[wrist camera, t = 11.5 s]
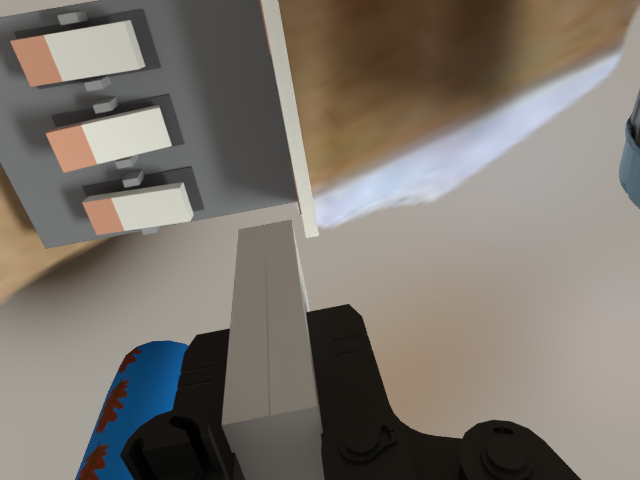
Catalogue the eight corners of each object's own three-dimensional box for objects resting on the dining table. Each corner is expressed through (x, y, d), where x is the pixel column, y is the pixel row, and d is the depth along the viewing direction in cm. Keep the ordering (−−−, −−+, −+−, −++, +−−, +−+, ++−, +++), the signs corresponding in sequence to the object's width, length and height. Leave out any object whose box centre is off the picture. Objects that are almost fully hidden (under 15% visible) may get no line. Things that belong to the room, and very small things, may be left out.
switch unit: (269, -28, 35) (272, -34, 26) (307, 186, 44) (319, 235, 35) (-45, 26, 34) (-148, 38, 26) (58, 233, 43) (7, 294, 34)
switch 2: (158, 104, 35) (159, 107, 34) (170, 142, 37) (172, 146, 36) (48, 129, 33) (45, 133, 32) (65, 168, 35) (63, 172, 34)
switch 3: (183, 182, 37) (179, 188, 36) (193, 214, 38) (190, 221, 37) (88, 196, 37) (82, 202, 36) (102, 228, 39) (96, 235, 38)
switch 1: (130, 20, 31) (123, 21, 30) (145, 66, 32) (139, 69, 31) (20, 39, 32) (10, 41, 31) (40, 83, 33) (30, 86, 32)
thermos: (231, 383, 55) (213, 641, 33) (158, 419, 56) (95, 689, 35) (175, 324, 50) (110, 583, 28) (97, 366, 51) (-24, 643, 30)
